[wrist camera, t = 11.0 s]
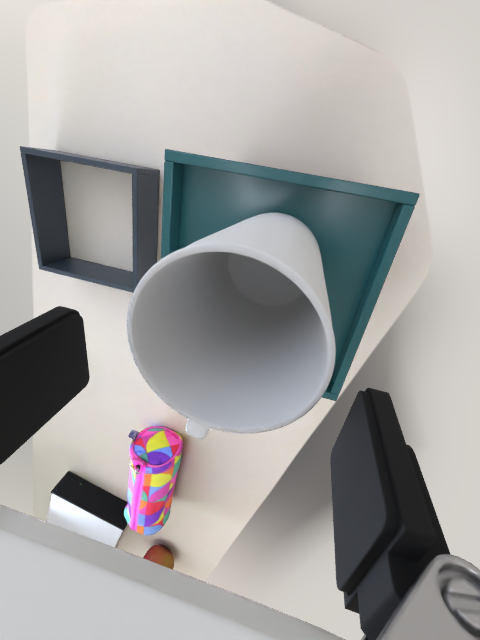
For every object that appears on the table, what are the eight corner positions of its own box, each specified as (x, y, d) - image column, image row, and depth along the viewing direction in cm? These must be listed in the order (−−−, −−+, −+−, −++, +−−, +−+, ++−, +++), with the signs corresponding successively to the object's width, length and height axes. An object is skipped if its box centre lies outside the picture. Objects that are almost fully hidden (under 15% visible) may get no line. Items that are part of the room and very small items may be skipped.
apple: (145, 544, 73) (127, 583, 66) (159, 533, 70) (141, 572, 62) (170, 560, 74) (155, 601, 67) (185, 550, 70) (171, 591, 63)
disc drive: (136, 506, 67) (124, 529, 63) (116, 548, 78) (104, 570, 73) (68, 470, 67) (51, 490, 63) (57, 517, 78) (41, 537, 73)
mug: (243, 190, 18) (146, 203, 8) (344, 231, 18) (384, 302, 8) (200, 322, 23) (104, 440, 13) (280, 356, 23) (249, 508, 12)
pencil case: (141, 412, 54) (111, 453, 46) (190, 428, 52) (167, 473, 44) (138, 486, 63) (113, 530, 55) (179, 501, 62) (159, 548, 54)
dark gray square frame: (54, 150, 37) (19, 146, 33) (159, 169, 35) (137, 168, 31) (67, 260, 43) (38, 269, 39) (156, 281, 42) (137, 293, 37)
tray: (178, 151, 19) (164, 148, 17) (409, 192, 17) (420, 193, 15) (168, 340, 25) (157, 352, 23) (334, 385, 23) (336, 401, 22)
